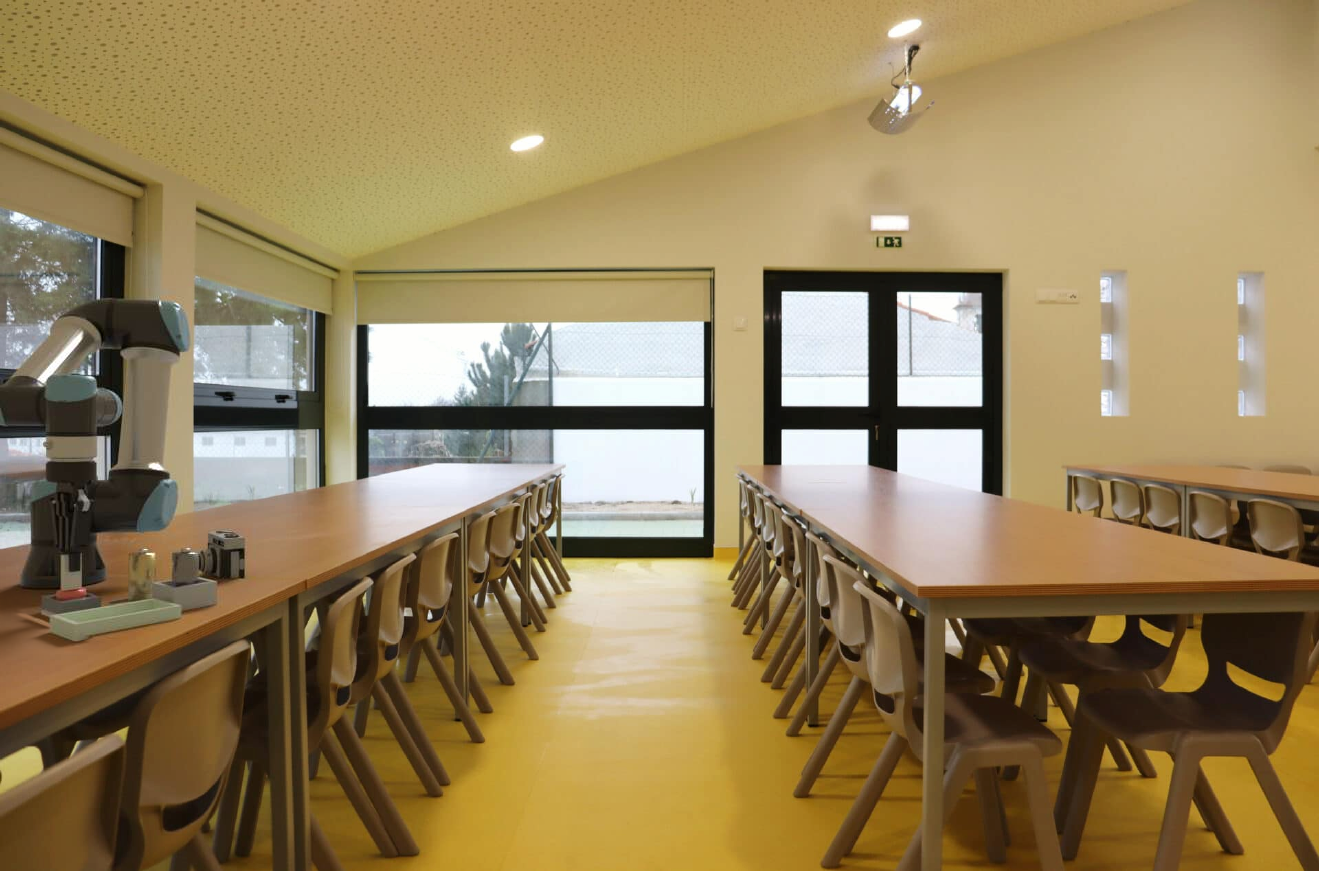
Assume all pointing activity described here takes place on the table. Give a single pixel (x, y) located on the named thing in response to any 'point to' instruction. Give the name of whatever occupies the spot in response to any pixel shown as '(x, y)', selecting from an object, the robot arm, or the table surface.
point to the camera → (224, 555)
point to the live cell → (141, 575)
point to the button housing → (68, 604)
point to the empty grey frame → (119, 600)
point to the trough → (112, 618)
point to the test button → (70, 594)
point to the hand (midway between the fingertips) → (71, 588)
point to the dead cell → (185, 567)
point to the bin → (187, 593)
